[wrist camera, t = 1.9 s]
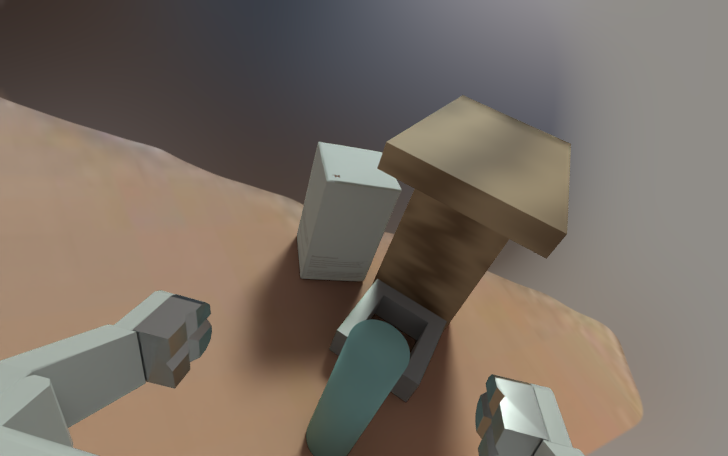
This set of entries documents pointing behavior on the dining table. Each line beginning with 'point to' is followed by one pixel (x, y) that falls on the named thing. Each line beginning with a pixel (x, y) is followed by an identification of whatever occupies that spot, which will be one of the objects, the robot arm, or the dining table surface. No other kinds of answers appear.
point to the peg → (357, 387)
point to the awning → (471, 200)
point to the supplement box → (344, 213)
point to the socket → (406, 319)
